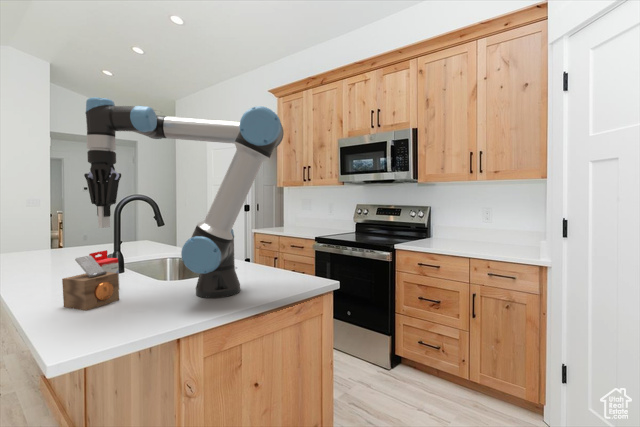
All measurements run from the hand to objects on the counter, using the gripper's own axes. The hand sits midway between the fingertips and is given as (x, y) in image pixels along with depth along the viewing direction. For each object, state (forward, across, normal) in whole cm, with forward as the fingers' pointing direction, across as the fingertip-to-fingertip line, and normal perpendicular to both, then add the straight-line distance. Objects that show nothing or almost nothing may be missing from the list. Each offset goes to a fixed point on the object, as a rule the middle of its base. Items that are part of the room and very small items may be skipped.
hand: (104, 227), depth 112 cm
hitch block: (+25, +7, 0) cm, 26 cm away
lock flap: (+13, +7, 0) cm, 15 cm away
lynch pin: (+23, +7, -1) cm, 24 cm away
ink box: (+25, +15, -11) cm, 31 cm away
